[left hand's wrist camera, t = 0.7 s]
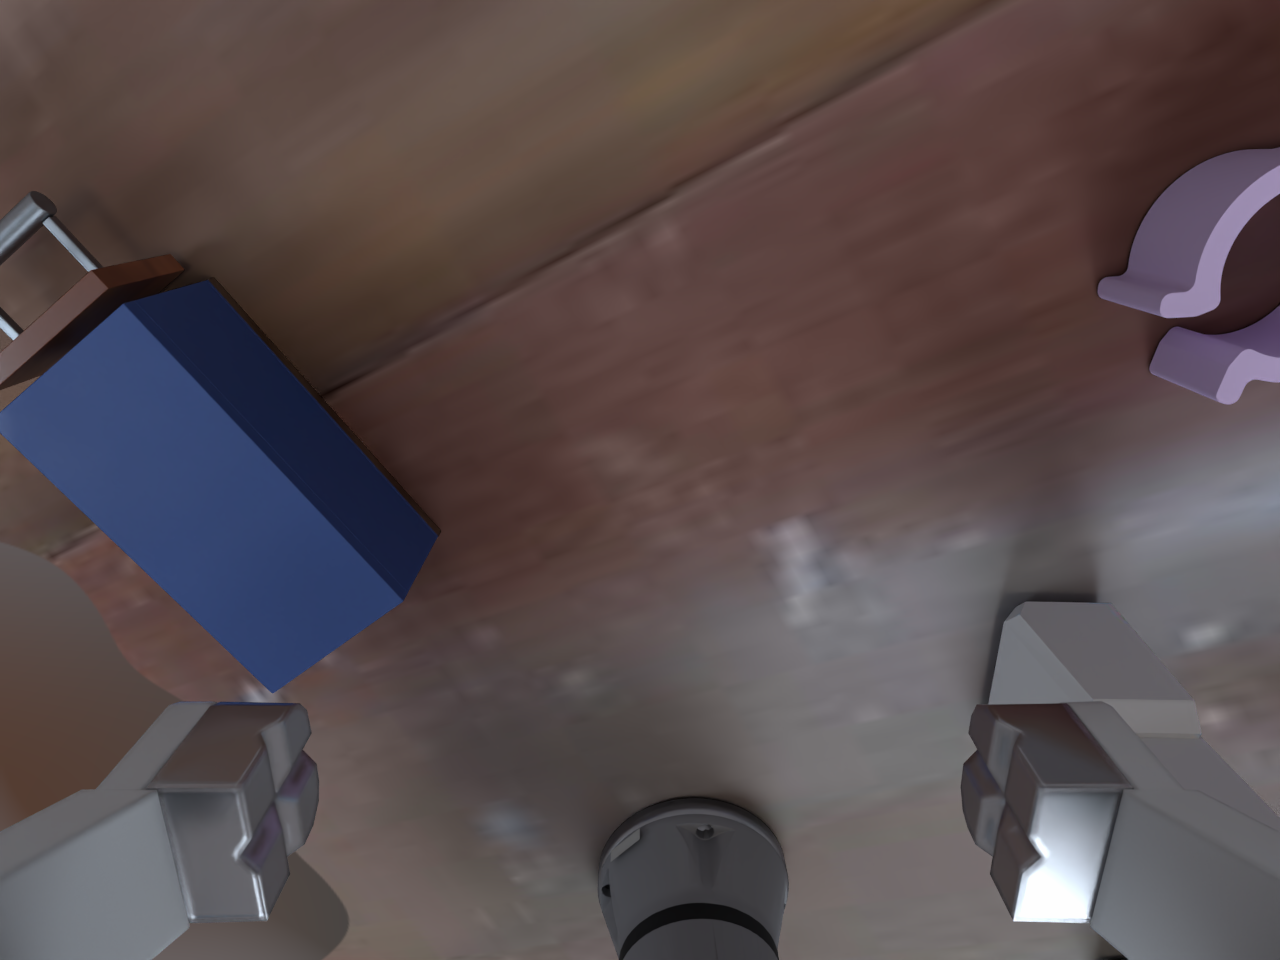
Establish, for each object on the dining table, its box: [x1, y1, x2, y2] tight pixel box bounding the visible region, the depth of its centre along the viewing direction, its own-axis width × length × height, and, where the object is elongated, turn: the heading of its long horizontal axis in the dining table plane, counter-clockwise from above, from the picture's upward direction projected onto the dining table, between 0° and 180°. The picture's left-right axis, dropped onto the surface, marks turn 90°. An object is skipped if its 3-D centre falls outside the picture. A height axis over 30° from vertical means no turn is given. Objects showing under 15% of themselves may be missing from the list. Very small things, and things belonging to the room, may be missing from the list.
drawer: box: [0, 191, 184, 390], centre depth 52 cm, size 26×10×8 cm, turn 37°
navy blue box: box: [0, 278, 441, 693], centre depth 53 cm, size 22×11×10 cm, turn 37°
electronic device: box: [988, 602, 1280, 832], centre depth 50 cm, size 12×8×30 cm, turn 179°
